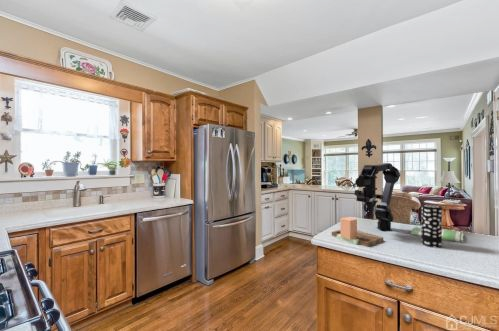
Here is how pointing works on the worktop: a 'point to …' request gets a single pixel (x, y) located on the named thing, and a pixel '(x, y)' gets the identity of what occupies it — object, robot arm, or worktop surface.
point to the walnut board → (364, 238)
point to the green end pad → (354, 241)
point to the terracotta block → (348, 228)
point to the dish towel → (446, 234)
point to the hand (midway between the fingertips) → (370, 212)
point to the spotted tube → (431, 226)
